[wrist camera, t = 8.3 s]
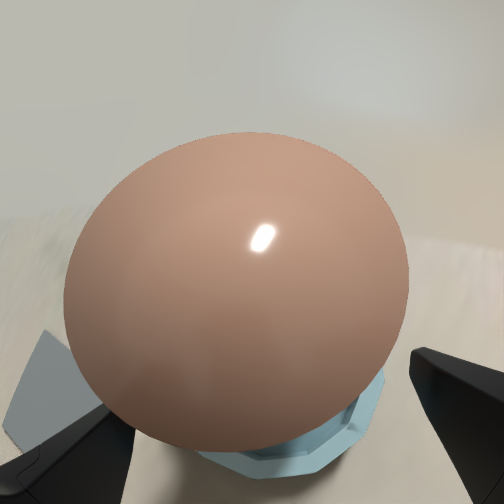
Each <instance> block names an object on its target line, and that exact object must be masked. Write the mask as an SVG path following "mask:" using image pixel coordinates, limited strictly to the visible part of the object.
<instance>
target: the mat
mask: <svg viewBox="0 0 504 504" xmlns="http://www.w3.org/2000/svg"><path fill="white" fill-rule="evenodd" d="M102 403H103V402H102V401H101V400H100V399H99V398H98V396H97V395H96V394H95V393H94V392H93V391H92V389H91V388H90V386H89V385H88V383H87V382H86V380H85V378H84V377H83V375H82V374H81V372H80V370H79V368H78V365H77V363H76V361H75V359H74V357H73V354H72V351H71V350H69V349H68V348H67V347H66V346H64V345H63V344H62V343H61V342H60V341H59V340H57V339H56V338H55V337H54V336H53V335H52V334H50V333H49V332H48V331H47V330H45V329H44V331H43V333H42V335H41V337H40V339H39V341H38V343H37V345H36V347H35V349H34V351H33V353H32V355H31V357H30V359H29V361H28V364H27V366H26V368H25V370H24V372H23V374H22V377H21V379H20V381H19V384H18V386H17V388H16V391H15V393H14V396H13V398H12V400H11V403H10V406H9V408H8V411H7V413H6V416H5V419H4V421H3V424H2V427H3V428H4V430H5V431H6V432H7V434H8V435H9V436H10V437H11V439H12V440H13V441H14V442H15V443H16V445H17V446H18V447H19V448H20V449H21V450H22V452H23V453H26V452H28V451H29V450H31V449H33V448H34V447H36V446H37V445H39V444H40V445H41V443H42V442H44V441H45V440H47V439H49V438H50V437H52V436H53V435H55V434H56V433H58V432H60V431H61V430H63V429H64V428H66V427H67V426H69V425H70V424H72V423H73V422H75V421H77V420H78V419H80V418H81V417H83V416H84V415H86V414H87V413H89V412H90V411H92V410H93V409H95V408H96V407H98V406H99V405H101V404H102Z"/></svg>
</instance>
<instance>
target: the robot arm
mask: <svg viewBox="0 0 504 504" xmlns="http://www.w3.org/2000/svg"><path fill="white" fill-rule="evenodd" d="M409 375H410V379H411V381H412V383H413V386H414V388H415V390H416V392H417V395H418V397H419V400H420V402H421V404H422V407H423V409H424V411H425V413H426V415H427V417H428V419H429V421H430V423H431V424H432V426H433V428H434V430H435V431H436V433H437V435H438V437H439V439H440V440H441V442H442V444H443V446H444V448H445V450H446V451H447V453H448V455H449V457H450V459H451V461H452V463H453V464H454V466H455V468H456V470H457V472H458V474H459V476H460V478H461V480H462V482H463V484H464V486H465V488H466V490H467V492H468V494H469V496H470V498H471V500H472V502H473V504H504V372H500V371H497V370H494V369H491V368H487V367H484V366H481V365H478V364H475V363H472V362H468V361H465V360H462V359H459V358H456V357H453V356H450V355H447V354H444V353H441V352H438V351H435V350H432V349H429V348H426V347H421V348H417V349H414V350H413V351H412V352H411V356H410V367H409ZM135 430H136V429H135V428H134V427H132V426H130V425H128V424H127V423H126V422H124V421H123V420H122V419H121V418H119V417H118V416H117V415H116V414H114V413H113V412H112V411H111V410H110V409H108V407H107V406H106V405H105V404H104V403H102V404H101V405H99V406H98V407H96V408H95V409H93V410H92V411H90V412H89V413H87V414H86V415H84V416H83V417H81V418H80V419H78V420H77V421H75V422H73V423H72V424H70V425H69V426H67V427H66V428H64V429H63V430H61V431H60V432H58V433H56V434H55V435H53V436H52V437H50V438H49V439H47V440H45V441H44V442H42V443H41V445H40V444H39V445H37V446H36V447H34V448H33V449H31V450H29V451H28V452H26V453H24V454H23V455H21V456H19V457H17V458H15V459H13V460H11V461H9V462H7V463H5V464H3V465H1V466H0V504H120V503H121V499H122V495H123V490H124V486H125V482H126V478H127V474H128V470H129V466H130V462H131V457H132V452H133V444H134V437H135Z"/></svg>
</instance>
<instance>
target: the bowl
mask: <svg viewBox="0 0 504 504" xmlns="http://www.w3.org/2000/svg"><path fill="white" fill-rule="evenodd" d="M384 380H385V378H384V373H383V368H381V369H380V371H379V372H378V374H377V375H376V376H375V378H374V379H373V380H372V382H371V383H370V384H369V386H368V387H367V388H366V389H365V390H364V391H363V392H362V393H361V394H360V395H359V396H358V397H357V398H356V399H355V400H354V401H353V402H352V403H351V404H350V405H349V406H348V407H347V408H346V409H344V410H343V411H341V412H340V413H339V414H337V415H336V416H334V417H333V418H332V419H330V420H329V421H327V422H326V423H324V424H323V425H321V426H320V427H318V428H316V429H314V430H312V431H310V432H308V433H306V434H304V435H302V436H299V437H297V438H295V439H293V440H290V441H287V442H284V443H281V444H277V445H274V446H270V447H267V448H263V449H257V450H250V451H242V452H233V453H227V452H202V451H197V452H198V453H199V454H200V455H201V456H203V457H205V458H207V459H209V460H211V461H213V462H216V463H218V464H220V465H222V466H224V467H226V468H228V469H231V470H233V471H235V472H237V473H240V474H242V475H244V476H247V477H249V478H251V479H255V480H256V479H268V478H279V477H288V476H296V475H303V474H309V473H316V472H317V471H319V470H320V469H322V468H323V467H324V466H326V465H327V464H328V463H330V462H331V461H332V460H334V459H335V458H336V457H338V456H339V455H340V454H342V453H343V452H344V451H345V450H347V449H348V448H349V447H350V446H352V445H353V444H354V443H355V442H357V441H358V440H359V439H360V438H361V437H363V436H364V434H365V433H366V430H367V428H368V425H369V423H370V420H371V418H372V415H373V412H374V410H375V407H376V404H377V402H378V399H379V396H380V393H381V390H382V387H383V384H384ZM315 471H316V472H315Z"/></svg>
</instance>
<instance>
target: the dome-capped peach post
mask: <svg viewBox="0 0 504 504" xmlns="http://www.w3.org/2000/svg"><path fill="white" fill-rule="evenodd" d="M408 292H409V267H408V260H407V254H406V248H405V244H404V241H403V237H402V234H401V231H400V228H399V225H398V223H397V221H396V219H395V217H394V215H393V213H392V211H391V209H390V207H389V206H388V204H387V203H386V201H385V200H384V198H383V197H382V195H381V194H380V193H379V191H378V190H377V189H376V188H375V187H374V185H373V184H372V183H371V182H370V181H369V180H368V179H367V178H366V177H365V176H364V175H363V174H362V173H360V172H359V171H358V170H357V169H356V168H355V167H353V166H352V165H351V164H350V163H348V162H347V161H345V160H343V159H342V158H340V157H339V156H337V155H336V154H334V153H332V152H330V151H328V150H326V149H324V148H322V147H320V146H317V145H314V144H312V143H309V142H306V141H304V140H300V139H296V138H292V137H288V136H283V135H277V134H270V133H253V132H252V133H251V132H247V133H230V134H224V135H216V136H211V137H207V138H203V139H199V140H195V141H192V142H189V143H186V144H183V145H180V146H178V147H175V148H173V149H171V150H169V151H166V152H164V153H162V154H160V155H159V156H157V157H155V158H153V159H152V160H150V161H148V162H146V163H145V164H143V165H142V166H140V167H139V168H137V169H136V170H135V171H133V172H132V173H131V174H129V175H128V176H127V177H126V178H125V179H123V180H122V181H121V182H120V183H119V184H118V185H117V186H116V187H115V188H114V189H113V190H112V191H111V192H110V193H109V194H108V195H107V196H106V197H105V198H104V199H103V201H102V202H101V203H100V204H99V206H98V207H97V208H96V209H95V211H94V212H93V214H92V215H91V217H90V218H89V220H88V221H87V223H86V225H85V226H84V228H83V230H82V232H81V234H80V236H79V238H78V240H77V242H76V245H75V247H74V250H73V253H72V255H71V258H70V262H69V266H68V270H67V274H66V280H65V288H64V320H65V327H66V334H67V338H68V341H69V345H70V348H71V351H72V354H73V357H74V359H75V361H76V363H77V365H78V368H79V370H80V372H81V374H82V375H83V377H84V378H85V380H86V382H87V383H88V385H89V386H90V388H91V389H92V391H93V392H94V393H95V394H96V395H97V396H98V398H99V399H100V400H101V401H102V402H103V403H104V404H105V405H106V406H107V407H108V409H110V410H111V411H112V412H113V413H114V414H116V415H117V416H118V417H119V418H121V419H122V420H123V421H124V422H126V423H127V424H128V425H130V426H132V427H134V428H135V429H137V430H139V431H141V432H142V433H144V434H146V435H148V436H149V437H152V438H154V439H157V440H160V441H162V442H165V443H168V444H171V445H173V446H177V447H182V448H186V449H191V450H197V451H202V452H227V453H233V452H242V451H250V450H257V449H263V448H267V447H270V446H274V445H277V444H281V443H284V442H287V441H290V440H293V439H295V438H297V437H299V436H302V435H304V434H306V433H308V432H310V431H312V430H314V429H316V428H318V427H320V426H321V425H323V424H324V423H326V422H327V421H329V420H330V419H332V418H333V417H334V416H336V415H337V414H339V413H340V412H341V411H343V410H344V409H346V408H347V407H348V406H349V405H350V404H351V403H352V402H353V401H354V400H355V399H356V398H357V397H358V396H359V395H360V394H361V393H362V392H363V391H364V390H365V389H366V388H367V387H368V386H369V384H370V383H371V382H372V380H373V379H374V378H375V376H376V375H377V374H378V372H379V371H380V369H381V368H382V367H383V365H384V364H385V362H386V360H387V358H388V356H389V354H390V352H391V350H392V348H393V346H394V344H395V342H396V340H397V338H398V335H399V332H400V329H401V326H402V323H403V319H404V316H405V311H406V305H407V299H408Z"/></svg>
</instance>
